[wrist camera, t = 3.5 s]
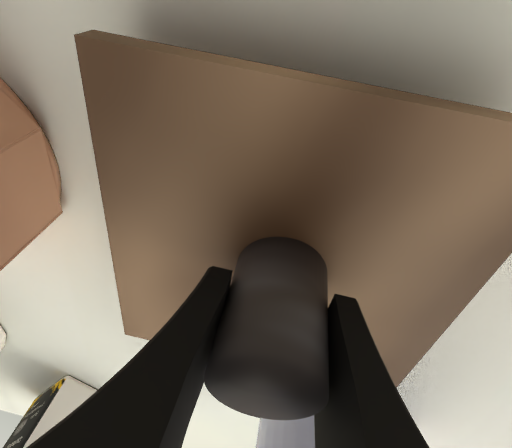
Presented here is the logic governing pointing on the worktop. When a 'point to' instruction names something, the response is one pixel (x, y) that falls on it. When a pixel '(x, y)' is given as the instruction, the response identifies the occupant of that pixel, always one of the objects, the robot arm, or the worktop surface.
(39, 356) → the worktop surface
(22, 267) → the worktop surface
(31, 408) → the medicine bottle
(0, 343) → the white cup
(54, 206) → the bowl
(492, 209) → the lid
